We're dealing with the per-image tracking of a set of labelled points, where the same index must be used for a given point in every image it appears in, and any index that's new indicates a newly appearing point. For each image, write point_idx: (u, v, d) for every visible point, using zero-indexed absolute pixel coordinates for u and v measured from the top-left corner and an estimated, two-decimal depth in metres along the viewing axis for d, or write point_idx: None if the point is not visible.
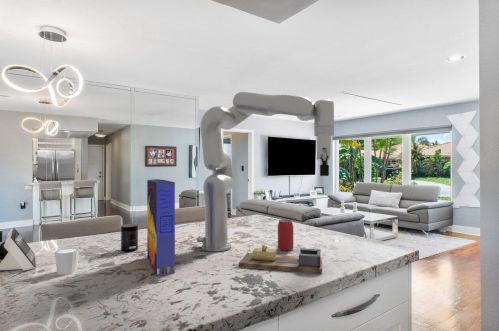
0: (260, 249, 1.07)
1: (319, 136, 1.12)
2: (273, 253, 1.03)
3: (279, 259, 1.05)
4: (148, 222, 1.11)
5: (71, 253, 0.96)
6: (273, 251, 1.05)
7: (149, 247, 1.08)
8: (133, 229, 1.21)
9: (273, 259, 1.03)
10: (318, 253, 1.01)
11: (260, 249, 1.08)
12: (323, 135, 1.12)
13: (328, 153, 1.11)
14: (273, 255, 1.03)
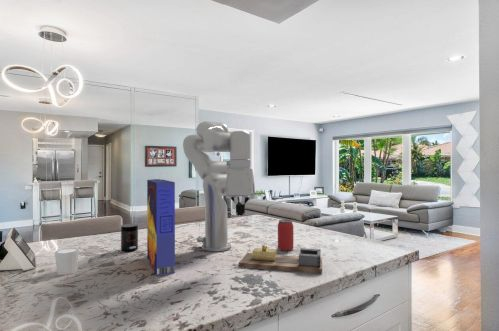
0: (260, 249, 1.07)
1: (250, 170, 1.06)
2: (273, 253, 1.03)
3: (279, 259, 1.05)
4: (148, 222, 1.11)
5: (71, 253, 0.96)
6: (273, 251, 1.05)
7: (149, 247, 1.08)
8: (133, 229, 1.21)
9: (273, 259, 1.03)
10: (318, 253, 1.01)
11: (260, 249, 1.08)
12: (252, 170, 1.07)
13: (254, 188, 1.09)
14: (273, 255, 1.03)
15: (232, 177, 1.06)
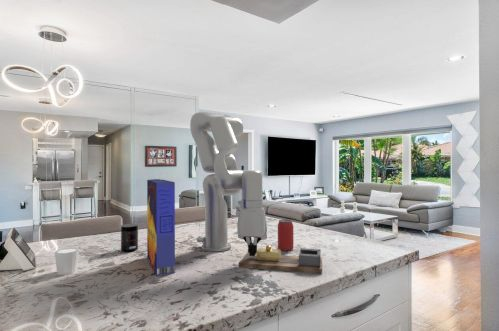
0: (264, 249, 1.07)
1: (263, 211, 1.05)
2: (277, 253, 1.03)
3: None
4: (148, 222, 1.11)
5: (71, 253, 0.96)
6: (277, 251, 1.04)
7: (149, 247, 1.08)
8: (133, 229, 1.21)
9: (277, 259, 1.03)
10: (318, 253, 1.01)
11: (264, 249, 1.07)
12: (264, 210, 1.06)
13: (266, 228, 1.07)
14: (277, 255, 1.03)
15: (244, 217, 1.05)
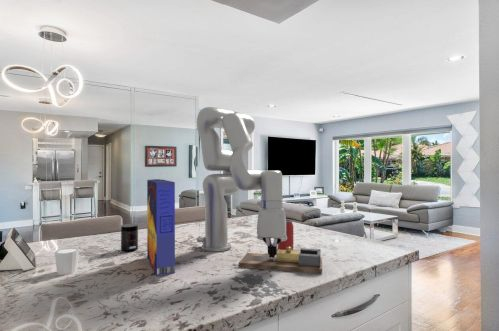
0: (284, 251, 1.05)
1: (283, 212, 1.03)
2: (298, 255, 1.01)
3: None
4: (148, 222, 1.11)
5: (71, 253, 0.96)
6: (298, 253, 1.02)
7: (149, 247, 1.08)
8: (133, 229, 1.21)
9: (298, 261, 1.01)
10: (318, 253, 1.01)
11: (283, 250, 1.06)
12: (284, 210, 1.04)
13: (286, 229, 1.06)
14: (298, 257, 1.01)
15: (264, 218, 1.03)
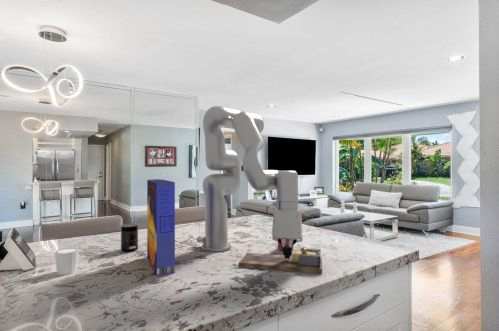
0: (299, 252, 1.04)
1: (299, 212, 1.01)
2: None
3: (279, 259, 1.05)
4: (148, 222, 1.11)
5: (71, 253, 0.96)
6: (314, 254, 1.01)
7: (149, 247, 1.08)
8: (133, 229, 1.21)
9: None
10: (318, 253, 1.01)
11: (299, 251, 1.04)
12: None
13: None
14: None
15: (280, 219, 1.02)
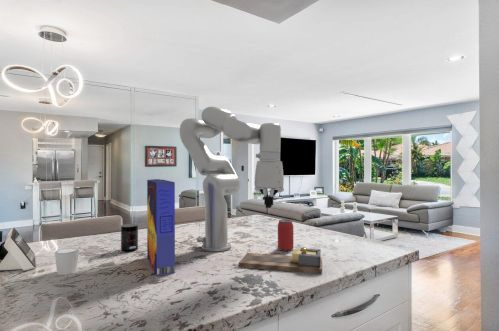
0: (299, 252, 1.04)
1: (280, 163, 1.05)
2: None
3: (279, 259, 1.05)
4: (148, 222, 1.11)
5: (71, 253, 0.96)
6: (314, 254, 1.01)
7: (149, 247, 1.08)
8: (133, 229, 1.21)
9: None
10: (318, 253, 1.01)
11: (299, 251, 1.04)
12: (281, 162, 1.07)
13: None
14: None
15: (262, 169, 1.06)
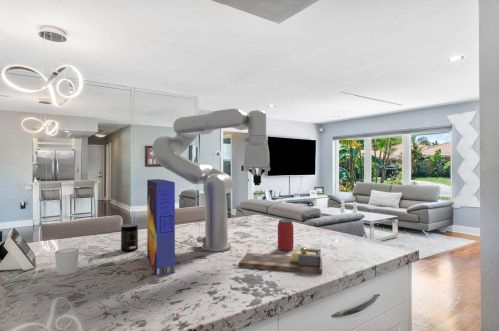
0: (299, 252, 1.04)
1: (266, 145, 1.20)
2: None
3: (279, 259, 1.05)
4: (148, 222, 1.11)
5: (71, 253, 0.96)
6: (314, 254, 1.01)
7: (149, 247, 1.08)
8: (133, 229, 1.21)
9: None
10: (318, 253, 1.01)
11: (299, 251, 1.04)
12: (267, 145, 1.21)
13: (269, 161, 1.23)
14: None
15: (250, 151, 1.20)
